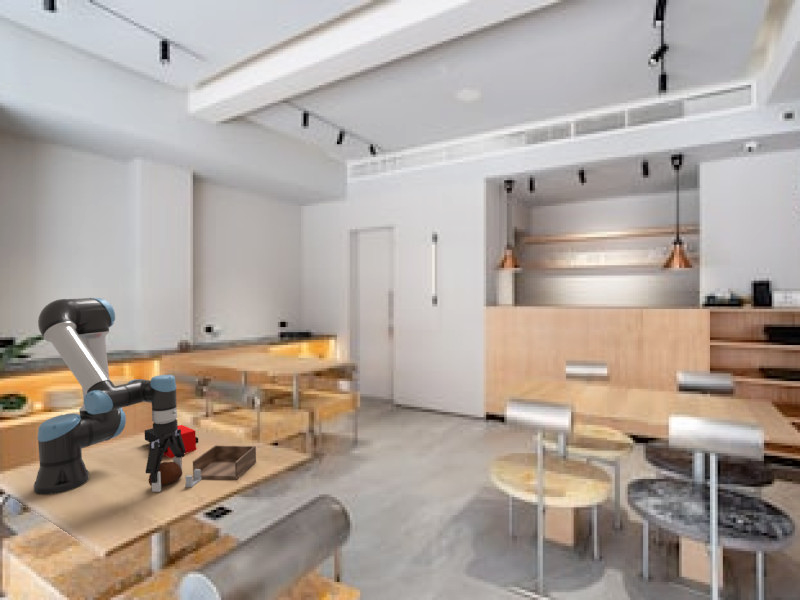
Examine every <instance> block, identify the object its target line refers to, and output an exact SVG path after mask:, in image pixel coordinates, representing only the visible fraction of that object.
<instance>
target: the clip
mask: <svg viewBox="0 0 800 600" xmlns="http://www.w3.org/2000/svg"><path fill="white" fill-rule="evenodd" d="M200 481H202V478H201V469H195V470H194V478H193V474H192V475H190V474H189V475H185V486H184V487H185V488H193V487H195V485H197V484H198V483H200Z"/></svg>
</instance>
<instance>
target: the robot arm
mask: <svg viewBox="0 0 800 600" xmlns="http://www.w3.org/2000/svg"><path fill="white" fill-rule="evenodd" d="M40 311H41V312H40V313H39V316H38V318H37V319H38V320H37V321H38V322H37V324H38V331H39V333H40V334H41V336H42V338H43V339H44V340H45V341H46V342H49V343H51V345H53V347H54V349H55V350H56V351H57V353H58V354H59V356H60V358H62V360H63V362H64V363H65V364H66V366H67V368H69V370H70V372H71V373H72V374H73V376H74V378H75V379H76V380H77V382H78V384H79V385H80V386H81V390H82V391H81V392H82V401H83V404H82V406H81V407H80V408H79V413H77V412H76V413H75V412H71V413H66V414H61V415H57V416H54V417H51V418H49V419H46V420H45V421H43V422H42V423H40V424H39V427H38V429H37V430H38V431H37V440H38V441H37V443H38V457H39V459H38V460H39V467H38V468H39V469H38V472H37V475H36V480H35V481H34V484H33V492H34V493H35V494H36V495H54V494H60V493H64V492H67V491H70V490H74V489H76V488H78V487H79V488H80V486H82V485H84V484H86V483H87V482H88V481H89V479H90V474H89V473H90V472H89V471H88V469H87V468H86V467H87V466H86V465H85V461H84V459H83V454H82V453H83V452H82V451H83V450H82V449H85V448H88V447H90V446H93V445H97V444H100V443H103V442H107V441H109V440H111V439H114V438H116V437H118V436H120V435H121V434H122V433H123V430H124V429H125V427H126V422H127V418H126V411H124V409H123V408H126V407H129V406H134V405H137V404H140V403H151V415H152V416H151V417H152V419H151V421H152V422H153V423H152V428H153V433H154V434H155V435H156V441H154V442H148V443H149V444H148V446H149V449H148V456H147V463H146V467H145V474H149V475H150V474H151V483H152V486H151V492H157V493H158V492H159V493H161V491H162V486H161V476H160V471H159V468H160V464H161V463H162V460H163V457H164V456H165V455H164V452H166V449H167V448H168V447H169V448H170V449H171V451H172V453H173V454H174V456H175V457H172V462H176V463H177V464H178V465H179V466H180V468H181V469H182V470H183V461H182V460H183V458H184V457H185V455H186V453H185V452H186V450H185V447H184V443H183V440H182V436H181V429H178V426H179V425H178V419H177V418H178V411H177V407H178V406H177V404H178V403H177V401H178V400H177V384H176V382H177V381H176V377H175V376H174V375H173V374H160V375H156V376H152V377H151V378H150V379H149V380H147V379H142V378H138V379H137V378H136V379H131V380H128V382H127V383H123V384H118V385H115V384H114V382H112V381H111V379H110V373H109V364H108V354H107V343H106V336H107V335H108V334H109V333H110V328H111V327H113V325H114V324H115V320H116V313H115V309H114V307H113V305H112V304H111V303H110V302H109V301H108V300H107V299H104V298H100V297H99V298H98V297H87V298H83V297H82V298H62V299H61V298H60V299H56V300H53V301H51V302H49V303H48V304H46V305H45V306H44V308H42V310H40ZM159 448H161V449H159ZM180 449H182V450H180ZM183 453H185V454H183ZM155 468H156V469H155Z"/></svg>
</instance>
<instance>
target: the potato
mask: <svg viewBox="0 0 800 600" xmlns="http://www.w3.org/2000/svg"><path fill="white" fill-rule="evenodd" d="M155 469H156V468H155ZM159 471H160V476H161V487H164V486H168V485H172V484H173V483H175V482H176V481H178V480H179V479H180V478H181V477H182V476H183V468H182V469H181V468H180V466H179V465H178V464H177V463H176V462H173V461H163V462H161V464H160V468H159ZM148 484H149V486H150V487H152V483H151V474H150V473H149V475H148Z"/></svg>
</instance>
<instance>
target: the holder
mask: <svg viewBox="0 0 800 600" xmlns="http://www.w3.org/2000/svg"><path fill="white" fill-rule="evenodd" d="M256 451H257V448H256V446H255V445H252V446H251V445H214V446H212V447H211V448H210V449H208V450H207V451H205V452H204V453H202V454H201V455H200V456H198V457H197V458H195V459H194V460H192V475H193V479H194V470H195V469H201V478H202V479H203V480H230V481H231V480H235V481H236V480H239V479H240V478H241V477H242V476H243V475H244V474H245V473H247V471H248V470H249V469H251V467H253V466H254V465H255V464H256V463H257V452H256Z"/></svg>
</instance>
